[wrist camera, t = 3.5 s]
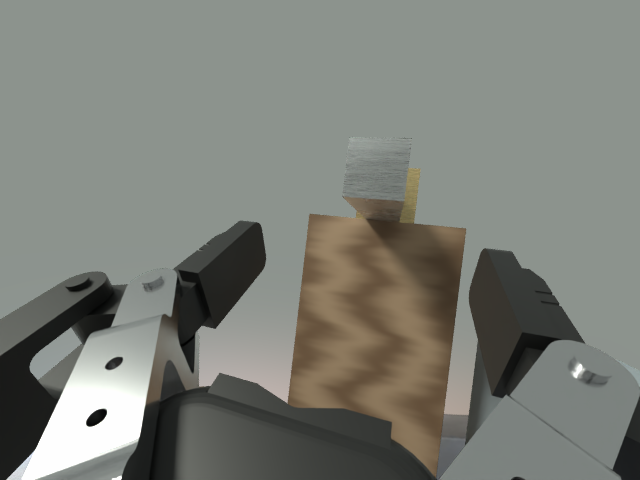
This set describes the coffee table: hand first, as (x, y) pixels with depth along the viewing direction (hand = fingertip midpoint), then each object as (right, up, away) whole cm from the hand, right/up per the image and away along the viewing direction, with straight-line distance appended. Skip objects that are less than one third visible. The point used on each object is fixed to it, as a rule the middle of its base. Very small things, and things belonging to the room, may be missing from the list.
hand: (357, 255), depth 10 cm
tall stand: (+2, -30, +21) cm, 37 cm away
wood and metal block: (+4, +2, +14) cm, 15 cm away
